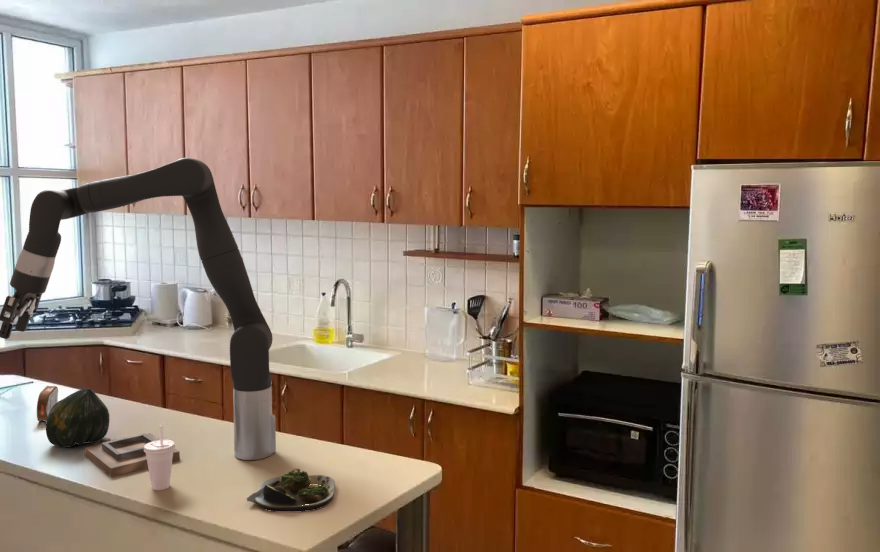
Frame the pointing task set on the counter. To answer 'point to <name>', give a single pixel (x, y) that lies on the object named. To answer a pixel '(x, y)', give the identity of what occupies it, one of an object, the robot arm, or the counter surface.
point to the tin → (46, 402)
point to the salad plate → (294, 492)
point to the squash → (77, 419)
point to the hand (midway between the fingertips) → (11, 334)
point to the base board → (123, 454)
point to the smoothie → (159, 461)
